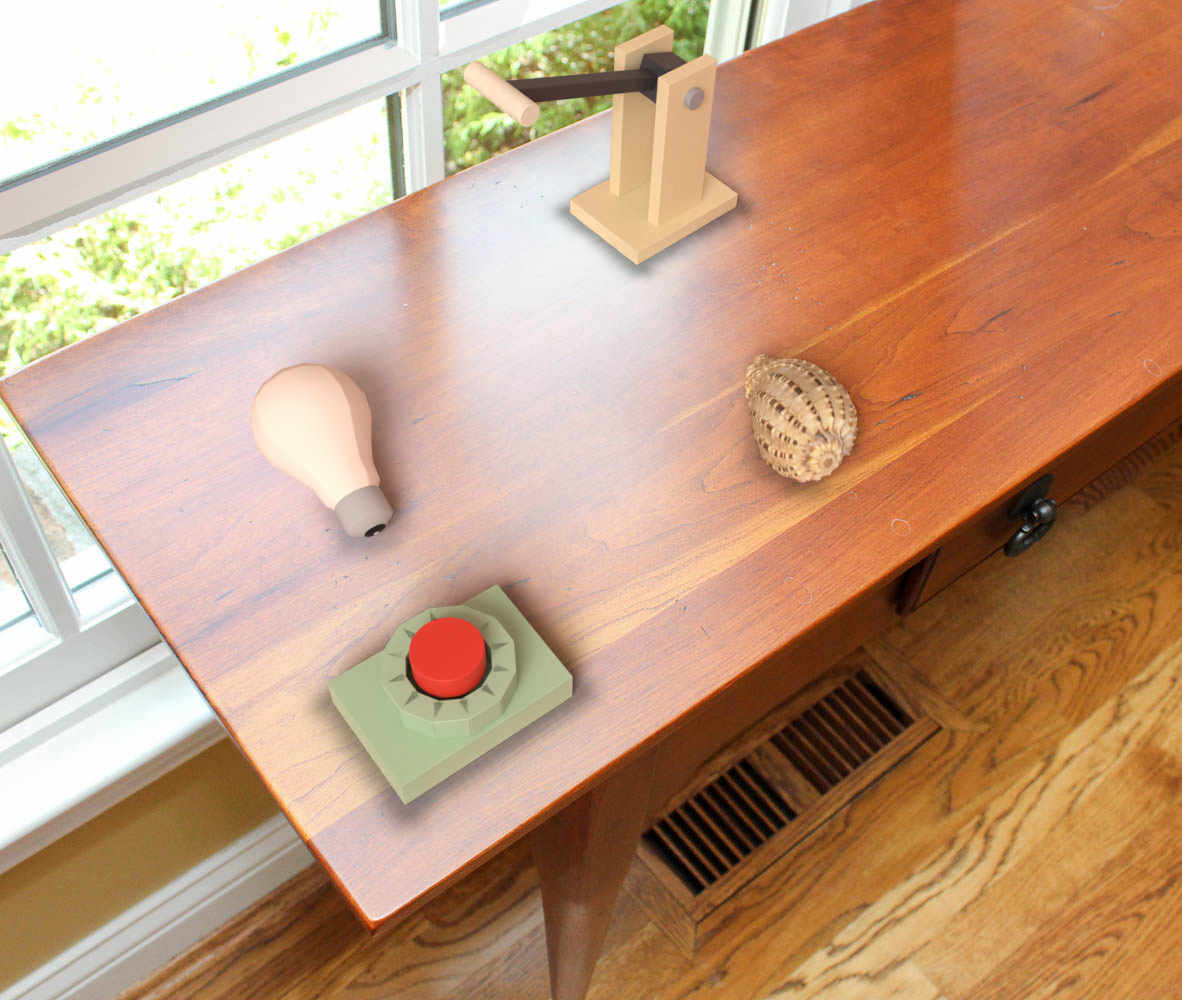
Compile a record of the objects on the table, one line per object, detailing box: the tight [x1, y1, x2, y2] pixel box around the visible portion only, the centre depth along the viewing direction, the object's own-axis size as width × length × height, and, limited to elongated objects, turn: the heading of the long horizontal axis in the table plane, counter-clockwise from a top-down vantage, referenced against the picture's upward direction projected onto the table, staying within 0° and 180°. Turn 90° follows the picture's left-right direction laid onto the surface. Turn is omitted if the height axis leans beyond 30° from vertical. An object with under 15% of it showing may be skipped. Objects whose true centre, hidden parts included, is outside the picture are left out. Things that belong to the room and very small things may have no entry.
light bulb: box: [249, 362, 394, 538], centre depth 69 cm, size 7×7×11 cm
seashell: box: [744, 353, 859, 484], centre depth 76 cm, size 8×6×10 cm
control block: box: [326, 583, 574, 806], centre depth 62 cm, size 10×7×4 cm
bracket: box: [569, 24, 739, 266], centre depth 83 cm, size 10×7×13 cm
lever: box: [463, 51, 688, 128], centre depth 75 cm, size 16×5×2 cm, turn 137°
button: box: [409, 617, 486, 698], centre depth 60 cm, size 4×4×2 cm
